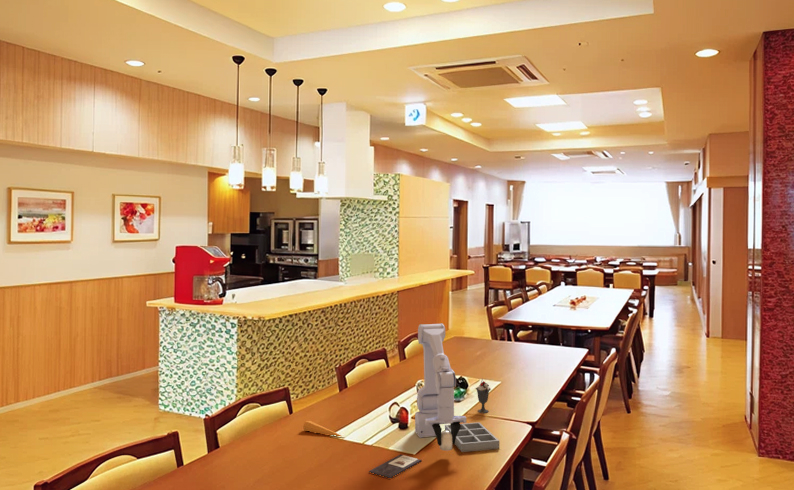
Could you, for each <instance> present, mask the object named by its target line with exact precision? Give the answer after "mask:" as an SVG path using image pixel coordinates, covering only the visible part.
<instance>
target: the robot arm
mask: <svg viewBox="0 0 794 490" xmlns="http://www.w3.org/2000/svg"><path fill="white" fill-rule="evenodd" d="M417 328H418V329H417V340H418V344H420V345H422V348H423V384H424V385H423V386H422V387H421V388H419V389H418V390H417V392H416V393H417V396H416V406H417V410H418V411H416V412H415V415H414V432H415V434H416V435H417V437H418V438H430V437H436V441H437V442H436V443H437V445H438V446H439V447H440V446H441V432H442V427H441V425H451V434H452V445H455V440H456V436H457V434H458V431H459V430H460V428H461V425H460V424H465V423H467V416H465V415H455V390H454V389H455V388H456V386H457V377H456V376H457V375H456V373H455V371H454V370H453V368H452V367H451V363H450V360H449V356H447V355H446V354H445V352H444V347H443V342H444V341H445V338H446V327H445V324H444V323H432V324H431V323H430V324H429V323H428V324H422V323H421V324H419V325H418V327H417Z"/></svg>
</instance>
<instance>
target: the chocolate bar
mask: <svg viewBox="0 0 794 490" xmlns="http://www.w3.org/2000/svg"><path fill="white" fill-rule="evenodd" d="M419 462H420V463H421V462H422V459H420V458H419V459H418V458H416V457H412V456H408V455H404V454H402V453H401V454H398V455H397V456H394V457H392V458H391V459H388V460H387V461H385V462H383V463H381V464H379V465H378V466H376V467H373V469H370V470H368V471H369V472H371V473H374V474H377V475H381V476H384V477H387V478H392V477H393V476H395V475H397V474H399V473H401V472H402V473H403V471H404V472H406V471H407V470H406V469H408V468H409V469H411V468H413V467H414V465H415V466H416V465H418V464H420V463H419ZM417 463H418V464H417ZM412 466H413V467H412ZM410 467H411V468H410ZM409 469H408V470H409ZM405 470H406V471H405ZM402 473H401V474H402ZM374 474H373V475H374ZM377 475H376V476H377ZM399 475H400V474H399ZM397 476H398V475H397ZM384 477H383V478H384ZM395 477H396V476H395ZM387 478H386V479H387ZM392 479H393V478H392Z"/></svg>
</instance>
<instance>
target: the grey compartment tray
mask: <svg viewBox="0 0 794 490" xmlns="http://www.w3.org/2000/svg"><path fill="white" fill-rule="evenodd" d="M460 425H461V428H460V430H459V431H458V434H457V436H456V440H455V444H454V445H455V446H456V448H457V449H458V450H459V451H460V452H461V453H467V452H469V453H470V452H478V451H489V450H490V451H491V450H500V439H498V438H497V437H496V436H495V435H494V434H493V433H492V432H491V431H490V430H488V429H487V428H486V427H485V426H484V425H483V424H482V423H481V422H479V421H478V422H469V423H468V422H466V423H460ZM445 430H447V431H449V432H451V425H450V424H444V431H445Z"/></svg>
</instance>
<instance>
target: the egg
mask: <svg viewBox="0 0 794 490" xmlns="http://www.w3.org/2000/svg"><path fill="white" fill-rule="evenodd" d="M439 449H440V450H441V451H446V452H447V451H448V452H449V451H452V450H453V444H452V434H451V432H449V431H447V430H445V429H444V430H443V431H442V430H441V446H439Z"/></svg>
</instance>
